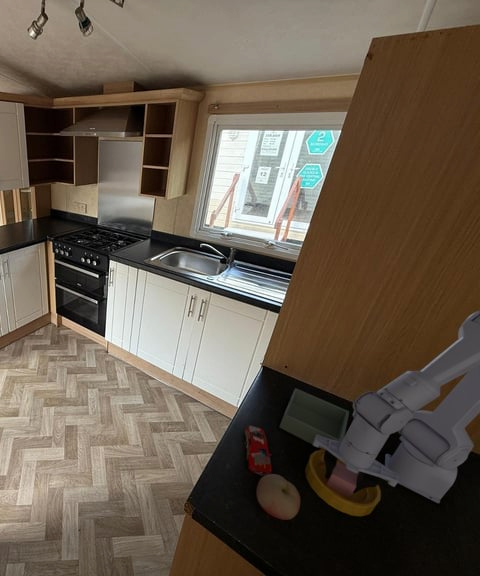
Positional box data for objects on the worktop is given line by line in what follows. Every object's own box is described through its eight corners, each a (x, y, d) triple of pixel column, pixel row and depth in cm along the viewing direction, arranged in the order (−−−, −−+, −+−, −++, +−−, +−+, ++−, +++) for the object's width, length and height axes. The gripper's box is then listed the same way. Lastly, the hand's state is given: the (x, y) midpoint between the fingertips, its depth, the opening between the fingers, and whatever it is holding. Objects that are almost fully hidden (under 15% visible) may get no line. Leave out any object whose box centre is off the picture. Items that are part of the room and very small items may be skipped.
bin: (342, 425, 88) (349, 411, 86) (335, 457, 79) (343, 443, 77) (290, 401, 96) (295, 388, 93) (278, 428, 87) (284, 414, 85)
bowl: (375, 484, 73) (382, 473, 71) (371, 532, 64) (379, 521, 63) (310, 450, 81) (315, 439, 79) (299, 488, 72) (304, 477, 70)
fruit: (286, 536, 64) (297, 514, 60) (247, 506, 69) (255, 484, 65) (299, 508, 68) (310, 485, 65) (261, 481, 74) (269, 459, 70)
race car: (271, 481, 74) (275, 471, 72) (246, 474, 75) (250, 463, 74) (264, 435, 85) (268, 425, 83) (242, 430, 86) (246, 420, 85)
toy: (351, 484, 73) (358, 472, 71) (348, 499, 70) (356, 487, 68) (328, 472, 75) (334, 460, 73) (325, 485, 72) (332, 474, 70)
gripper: (318, 434, 68) (300, 474, 74) (408, 479, 59) (379, 519, 65) (324, 415, 72) (306, 453, 78) (408, 453, 64) (380, 493, 70)
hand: (339, 482), depth 72 cm, fingers closed on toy, 4 cm apart
